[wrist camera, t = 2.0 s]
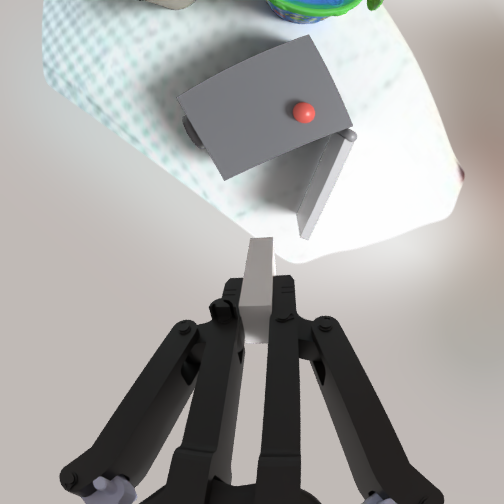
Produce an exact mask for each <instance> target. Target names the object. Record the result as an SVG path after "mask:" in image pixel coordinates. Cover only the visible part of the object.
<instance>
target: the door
mask: <svg viewBox="0 0 504 504" xmlns="http://www.w3.org/2000/svg"><path fill="white" fill-rule="evenodd" d="M356 139H357V134H356V133H355V132H354V131H352V130H350V129H348V128H347V129H344V130H341V131H339V132H336V133H333V134H331V136H330V138H329V141H328V143H327V146H326V148H325V150H324V153H323V155H322V157H321V160H320V162H319V164H318V167H317V169H316V171H315V174H314V176H313V178H312V181H311V183H310V185H309V187H308V190H307V192H306V194H305V197H304V199H303V201H302V203H301V206H300V208H299V210H298V212H297V221H298V227H299V234H300V238H303V239H306V240H309V238H310V236H311V234H312V232H313V229H314V227H315V225H316V223H317V221H318V219H319V217H320V215H321V213H322V211H323V209H324V207H325V205H326V203H327V200H328V198H329V196H330V194H331V192H332V190H333V188H334V186H335V183H336V181H337V179H338V177H339V175H340V172H341V170H342V168H343V166H344V164H345V161H346V159H347V157H348V155H349V152H350V150H351V148H352V146H353V142H354V141H355V140H356Z"/></svg>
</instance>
